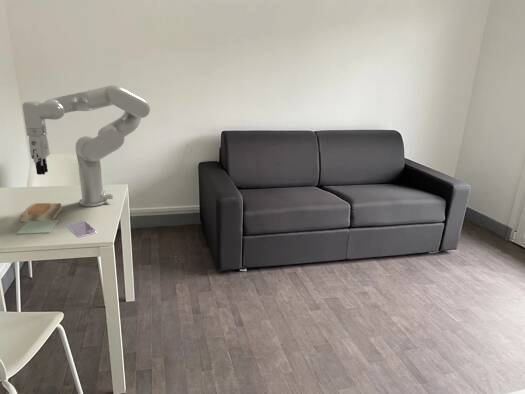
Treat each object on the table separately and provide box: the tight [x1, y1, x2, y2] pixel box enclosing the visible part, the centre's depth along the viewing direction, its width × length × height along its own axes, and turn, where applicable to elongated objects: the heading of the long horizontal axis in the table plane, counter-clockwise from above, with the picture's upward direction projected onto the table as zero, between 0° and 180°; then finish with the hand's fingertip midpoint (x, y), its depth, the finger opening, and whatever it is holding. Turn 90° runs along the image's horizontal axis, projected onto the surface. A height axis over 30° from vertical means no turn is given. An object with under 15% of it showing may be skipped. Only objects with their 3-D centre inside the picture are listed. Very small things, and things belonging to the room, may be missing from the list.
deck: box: [19, 202, 62, 223], centre depth 176 cm, size 12×14×3 cm
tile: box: [28, 202, 51, 215], centre depth 173 cm, size 6×9×2 cm, turn 10°
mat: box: [16, 219, 60, 235], centre depth 164 cm, size 12×12×1 cm
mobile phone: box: [66, 220, 98, 238], centre depth 165 cm, size 8×1×15 cm
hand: (42, 172), depth 178 cm, fingers open, 2 cm apart
